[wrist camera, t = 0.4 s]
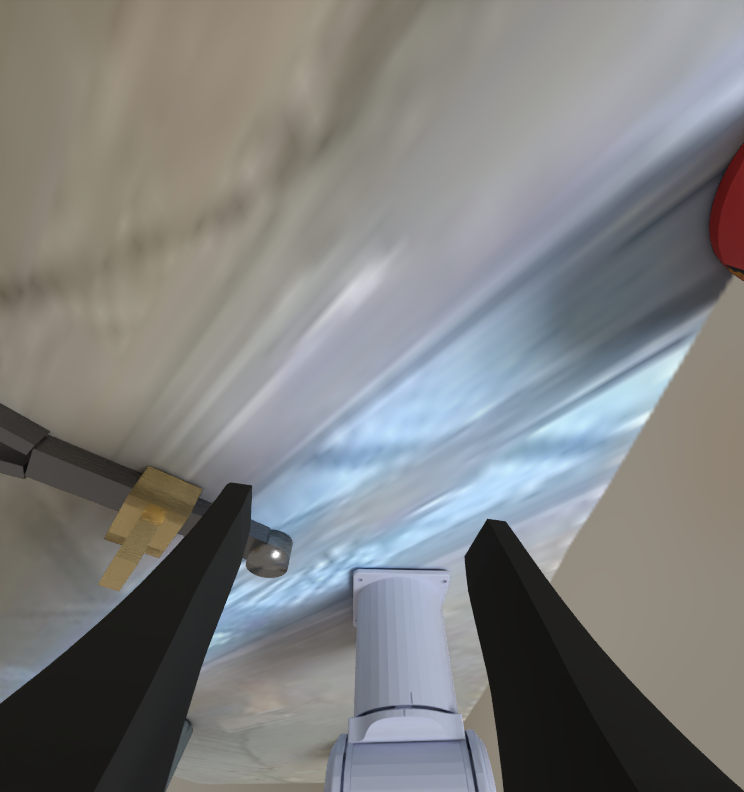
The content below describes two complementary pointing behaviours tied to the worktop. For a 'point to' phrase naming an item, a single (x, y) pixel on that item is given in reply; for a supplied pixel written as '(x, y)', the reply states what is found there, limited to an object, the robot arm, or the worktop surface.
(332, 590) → the worktop surface
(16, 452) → the grey long bar part
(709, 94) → the worktop surface
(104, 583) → the collar
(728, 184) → the canned food
